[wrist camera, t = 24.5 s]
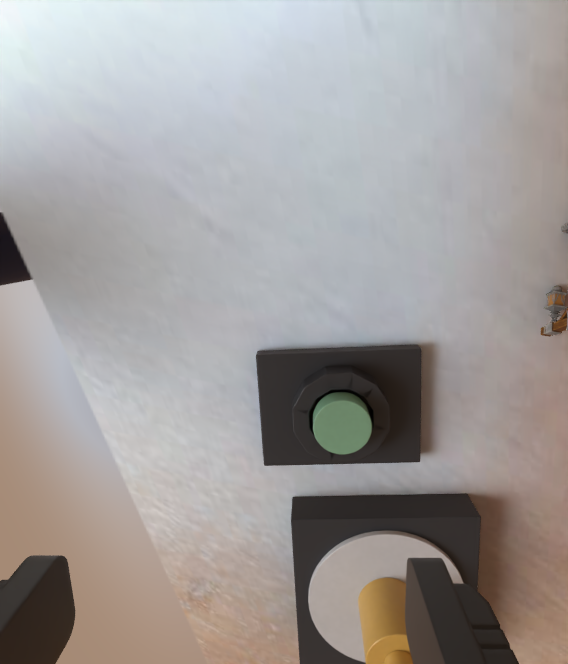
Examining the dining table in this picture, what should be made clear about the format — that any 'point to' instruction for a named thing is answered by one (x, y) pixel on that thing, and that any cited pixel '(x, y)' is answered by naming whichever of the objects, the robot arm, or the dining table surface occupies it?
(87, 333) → the dining table surface
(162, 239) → the dining table surface
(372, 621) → the brass weight
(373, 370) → the block
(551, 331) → the wooden post with brackets
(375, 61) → the dining table surface
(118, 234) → the dining table surface
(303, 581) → the scale
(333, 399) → the button
